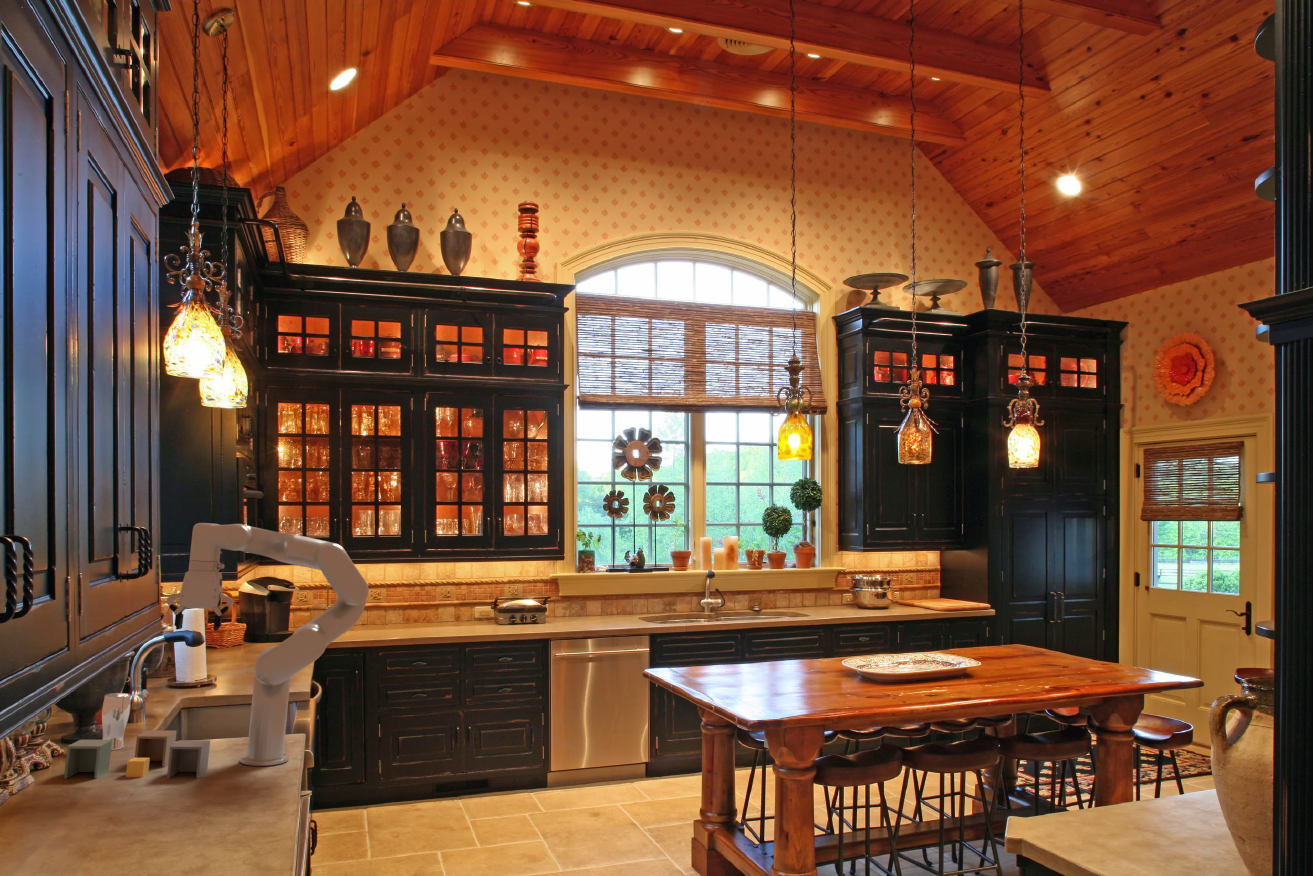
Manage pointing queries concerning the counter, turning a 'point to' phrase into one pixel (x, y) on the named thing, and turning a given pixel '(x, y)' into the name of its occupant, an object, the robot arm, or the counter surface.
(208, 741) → the grey open box
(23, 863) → the counter surface
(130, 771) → the orange block
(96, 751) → the green open box
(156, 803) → the counter surface
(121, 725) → the beer glass
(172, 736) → the tan cardboard-coloured box
